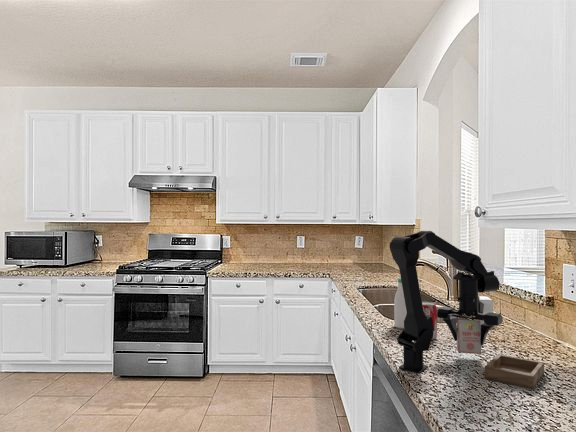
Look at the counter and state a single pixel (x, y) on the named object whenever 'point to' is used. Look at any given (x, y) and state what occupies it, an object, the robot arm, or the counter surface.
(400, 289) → the milk bottle
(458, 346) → the tea bag
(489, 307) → the small box
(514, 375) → the walnut tray
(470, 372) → the counter surface
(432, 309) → the soda can
